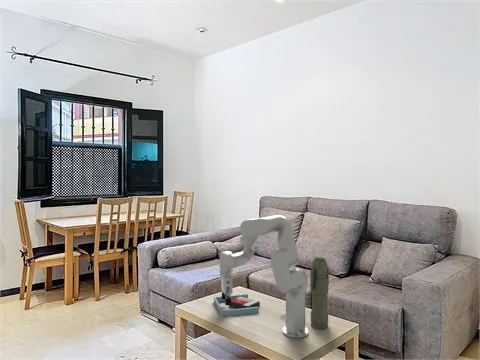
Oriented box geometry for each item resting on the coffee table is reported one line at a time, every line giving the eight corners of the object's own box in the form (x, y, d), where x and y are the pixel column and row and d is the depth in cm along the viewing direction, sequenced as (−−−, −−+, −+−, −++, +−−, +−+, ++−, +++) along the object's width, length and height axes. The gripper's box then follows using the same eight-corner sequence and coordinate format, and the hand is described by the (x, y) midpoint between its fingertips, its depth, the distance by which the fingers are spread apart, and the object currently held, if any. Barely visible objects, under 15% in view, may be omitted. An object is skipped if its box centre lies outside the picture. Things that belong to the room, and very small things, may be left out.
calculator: (240, 295, 229) (260, 300, 219) (240, 302, 229) (260, 307, 219) (228, 300, 220) (247, 305, 210) (228, 308, 220) (248, 313, 210)
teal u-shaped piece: (258, 312, 211) (258, 307, 211) (221, 316, 205) (221, 311, 205) (247, 298, 233) (247, 293, 232) (213, 302, 227) (213, 297, 227)
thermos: (333, 325, 194) (333, 258, 192) (319, 332, 186) (319, 262, 184) (319, 320, 200) (319, 255, 199) (305, 326, 192) (305, 258, 191)
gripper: (236, 276, 209) (236, 307, 210) (229, 268, 226) (229, 296, 227) (223, 277, 207) (223, 308, 208) (217, 269, 224) (217, 297, 225)
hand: (226, 302), depth 218 cm, fingers open, 9 cm apart
